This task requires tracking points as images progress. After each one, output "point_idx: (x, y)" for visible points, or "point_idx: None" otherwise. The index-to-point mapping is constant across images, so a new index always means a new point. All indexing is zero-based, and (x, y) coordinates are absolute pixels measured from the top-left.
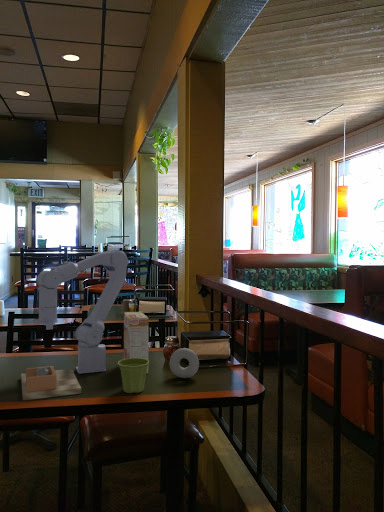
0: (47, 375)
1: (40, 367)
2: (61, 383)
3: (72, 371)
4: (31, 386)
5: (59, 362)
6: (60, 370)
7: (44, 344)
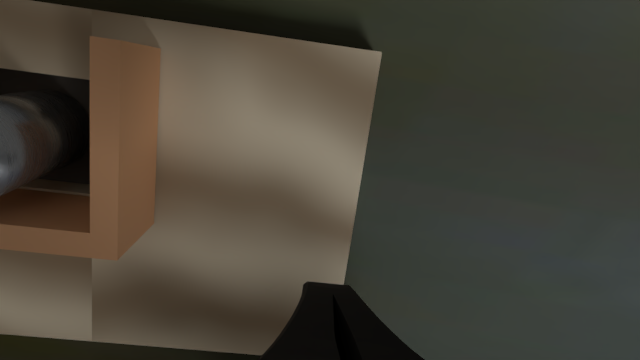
0: None
1: (100, 159)
2: None
3: None
4: None
5: (613, 330)
6: None
7: (298, 304)
